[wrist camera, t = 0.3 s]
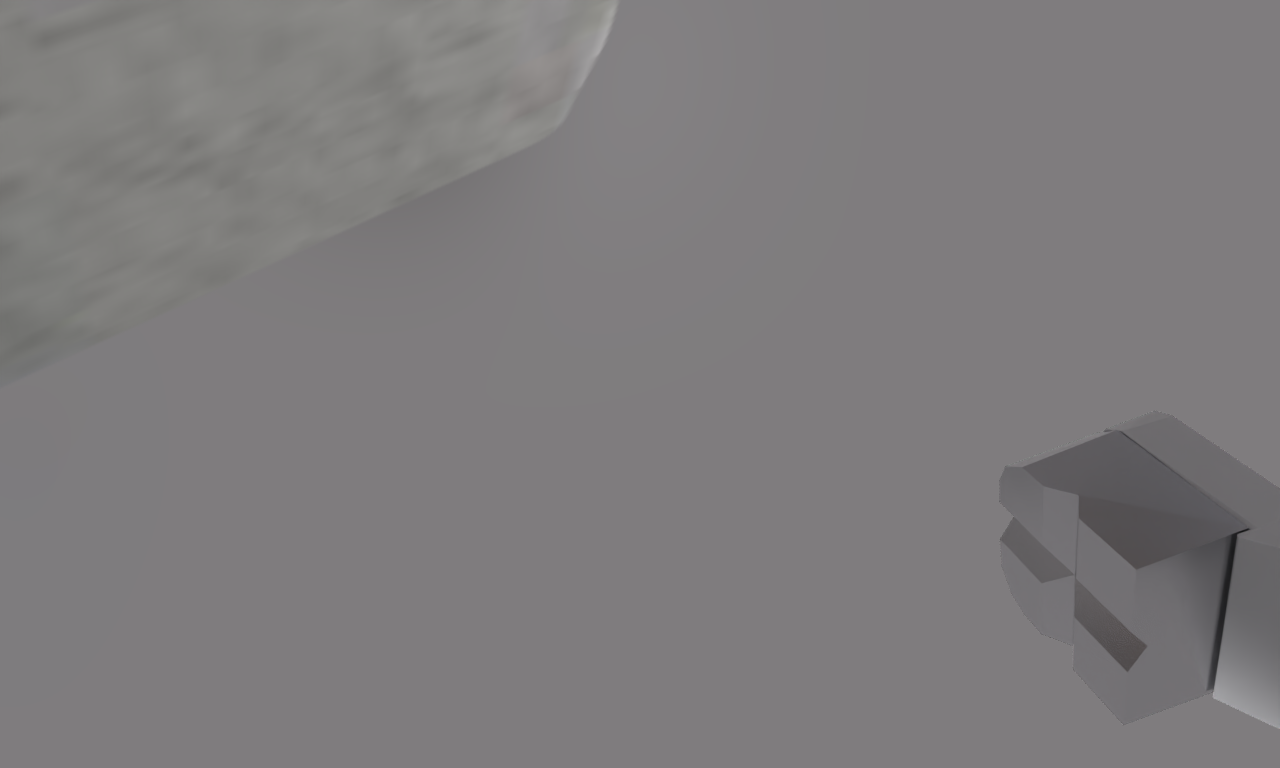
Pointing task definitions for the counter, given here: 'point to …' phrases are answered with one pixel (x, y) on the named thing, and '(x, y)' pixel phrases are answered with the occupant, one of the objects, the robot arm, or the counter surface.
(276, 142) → the counter surface
